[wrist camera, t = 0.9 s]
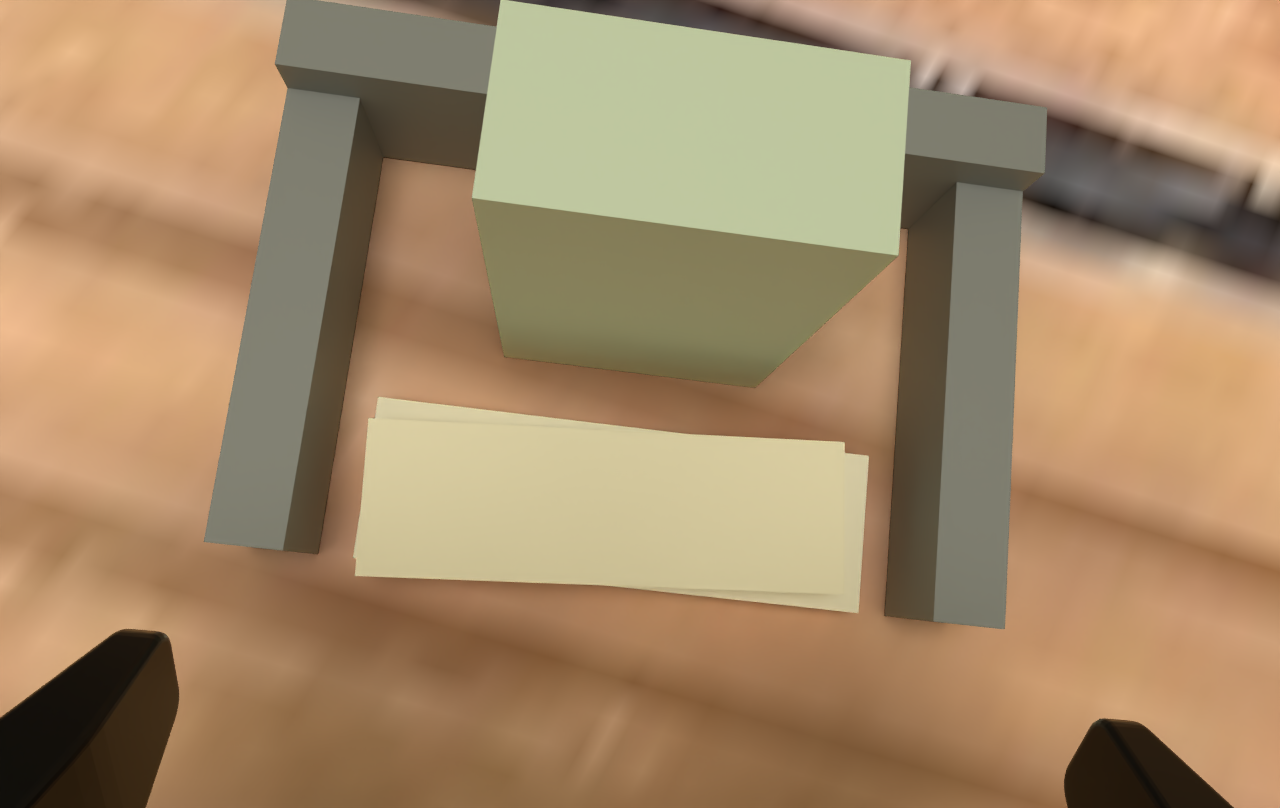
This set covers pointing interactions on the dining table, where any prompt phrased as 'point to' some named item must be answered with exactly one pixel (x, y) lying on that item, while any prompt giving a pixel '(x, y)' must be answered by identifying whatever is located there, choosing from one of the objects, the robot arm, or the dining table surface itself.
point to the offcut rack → (600, 453)
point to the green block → (680, 191)
